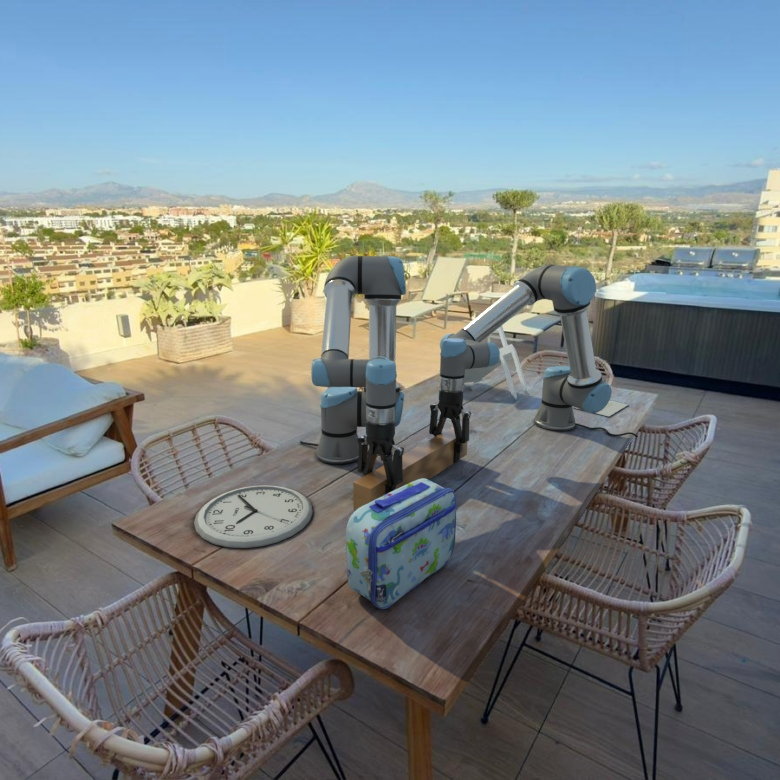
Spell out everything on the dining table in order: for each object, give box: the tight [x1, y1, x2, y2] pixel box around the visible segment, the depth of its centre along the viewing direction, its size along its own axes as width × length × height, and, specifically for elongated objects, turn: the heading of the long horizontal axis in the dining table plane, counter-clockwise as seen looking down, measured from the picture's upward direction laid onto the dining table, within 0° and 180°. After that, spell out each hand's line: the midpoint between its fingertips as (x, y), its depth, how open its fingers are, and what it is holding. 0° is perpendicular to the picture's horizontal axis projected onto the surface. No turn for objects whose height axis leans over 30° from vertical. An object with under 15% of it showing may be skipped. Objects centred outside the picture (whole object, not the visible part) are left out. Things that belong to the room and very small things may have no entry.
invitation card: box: [573, 399, 629, 418], centre depth 226 cm, size 21×1×15 cm
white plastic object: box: [438, 325, 531, 400], centre depth 245 cm, size 37×45×31 cm
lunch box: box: [345, 478, 457, 610], centre depth 110 cm, size 26×11×21 cm, turn 134°
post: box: [352, 426, 468, 513], centre depth 152 cm, size 50×6×8 cm, turn 143°
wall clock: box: [193, 484, 313, 549], centre depth 137 cm, size 30×2×30 cm
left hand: (379, 501), depth 140 cm, fingers closed on post, 6 cm apart
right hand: (447, 458), depth 167 cm, fingers closed on post, 6 cm apart
